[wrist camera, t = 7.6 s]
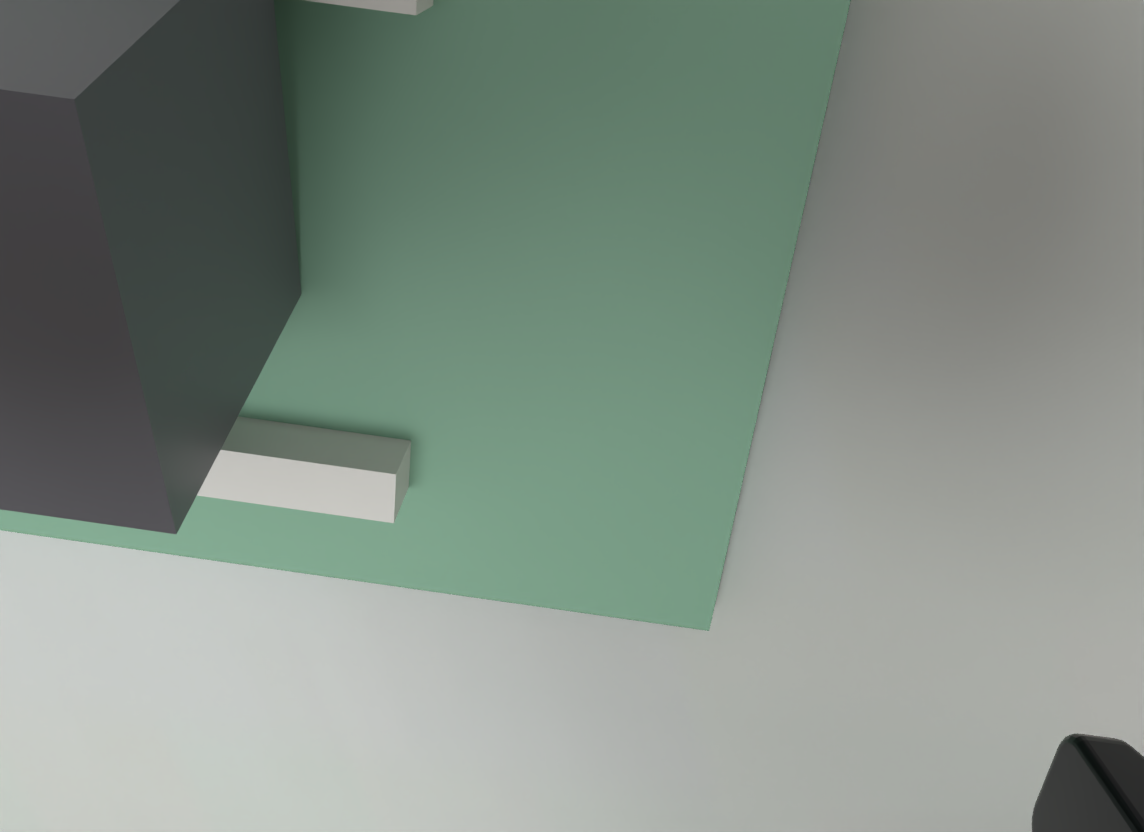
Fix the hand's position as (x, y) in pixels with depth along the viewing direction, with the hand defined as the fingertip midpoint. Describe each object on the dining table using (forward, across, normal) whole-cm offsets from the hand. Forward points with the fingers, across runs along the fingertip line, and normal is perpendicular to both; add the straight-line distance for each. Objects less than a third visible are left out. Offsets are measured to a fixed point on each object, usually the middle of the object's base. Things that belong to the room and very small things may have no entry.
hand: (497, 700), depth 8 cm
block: (+9, +7, -2) cm, 12 cm away
